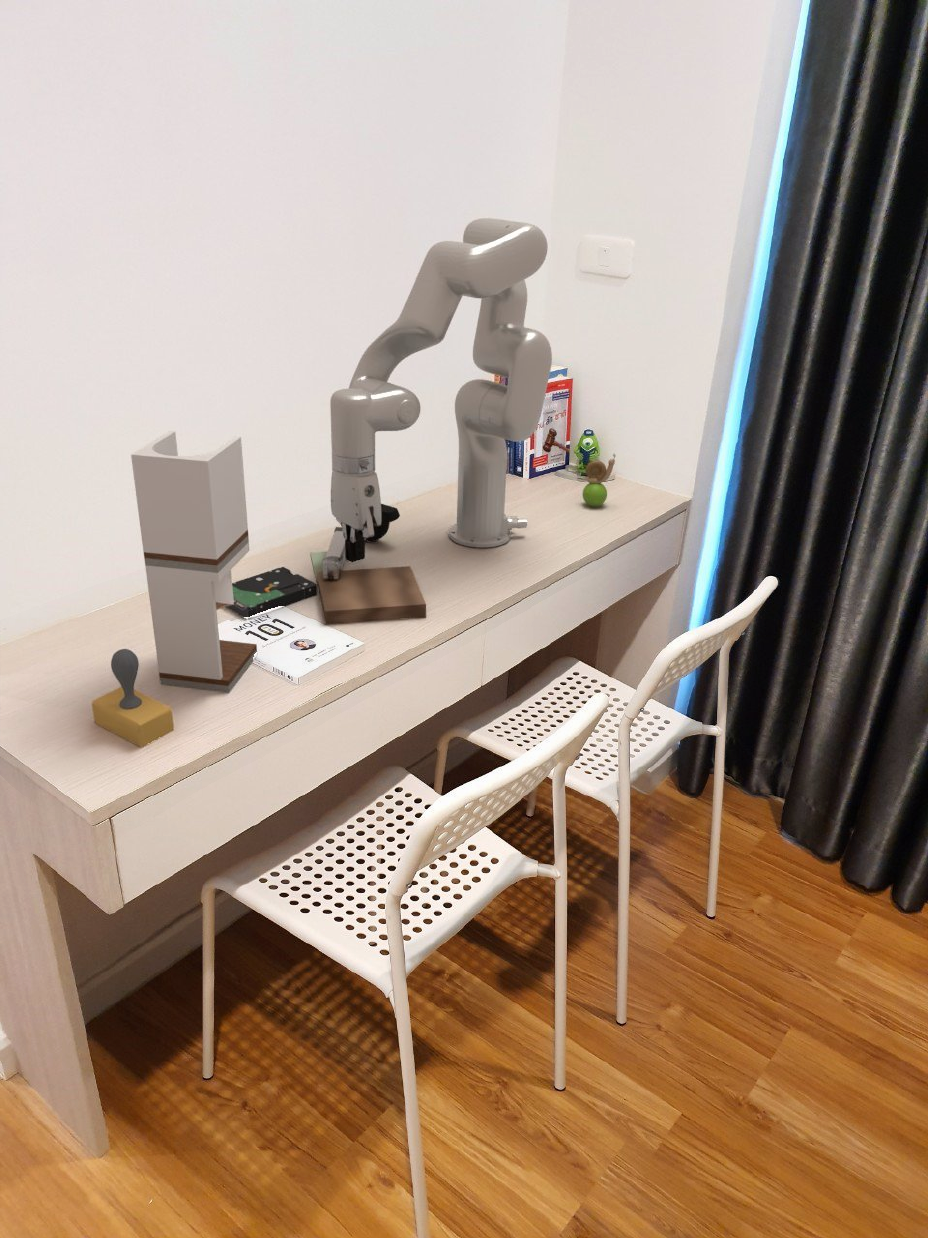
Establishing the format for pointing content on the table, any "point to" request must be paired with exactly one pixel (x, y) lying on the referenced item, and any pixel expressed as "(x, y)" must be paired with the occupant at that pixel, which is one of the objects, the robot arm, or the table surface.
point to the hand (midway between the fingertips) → (355, 559)
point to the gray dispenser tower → (192, 558)
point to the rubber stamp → (131, 706)
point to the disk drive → (270, 591)
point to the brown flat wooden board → (368, 594)
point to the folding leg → (334, 556)
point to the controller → (384, 522)
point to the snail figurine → (597, 482)
